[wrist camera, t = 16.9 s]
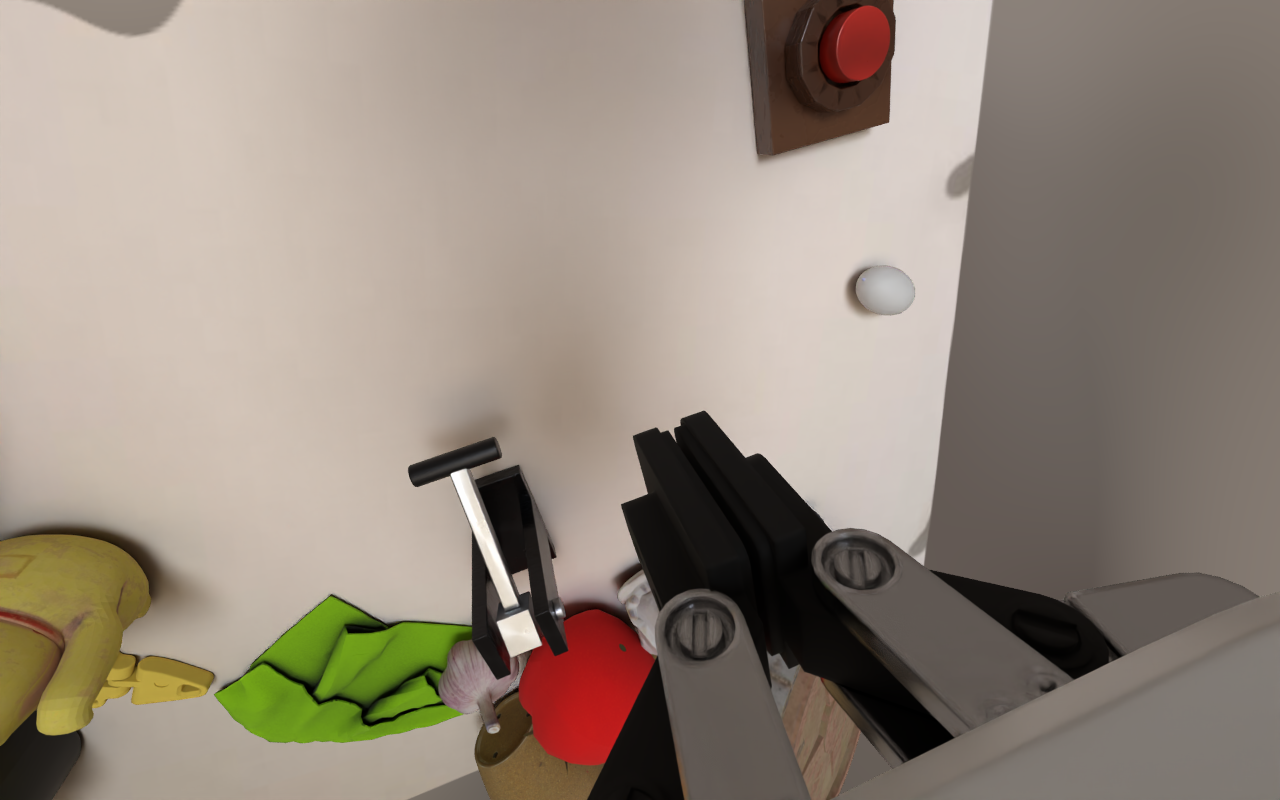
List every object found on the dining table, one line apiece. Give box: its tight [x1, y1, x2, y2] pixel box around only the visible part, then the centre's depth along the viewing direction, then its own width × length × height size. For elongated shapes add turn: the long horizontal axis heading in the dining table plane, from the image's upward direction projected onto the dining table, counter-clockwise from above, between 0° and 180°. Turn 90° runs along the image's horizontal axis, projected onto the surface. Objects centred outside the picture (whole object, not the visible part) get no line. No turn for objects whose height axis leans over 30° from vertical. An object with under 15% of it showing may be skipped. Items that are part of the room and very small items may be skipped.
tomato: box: [519, 609, 655, 775], centre depth 47 cm, size 12×13×12 cm
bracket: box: [472, 465, 568, 680], centre depth 38 cm, size 10×6×13 cm, turn 13°
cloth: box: [214, 596, 472, 743], centre depth 46 cm, size 20×22×2 cm
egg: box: [856, 266, 915, 315], centre depth 42 cm, size 4×6×4 cm, turn 66°
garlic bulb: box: [438, 639, 519, 734], centre depth 45 cm, size 8×7×8 cm
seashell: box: [618, 570, 660, 655], centre depth 48 cm, size 12×14×10 cm
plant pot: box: [475, 692, 605, 800], centre depth 52 cm, size 15×15×16 cm
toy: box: [92, 651, 214, 708], centre depth 38 cm, size 15×1×5 cm
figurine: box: [0, 535, 151, 746], centre depth 29 cm, size 11×9×15 cm
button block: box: [744, 0, 896, 155], centre depth 32 cm, size 10×9×4 cm
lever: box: [408, 437, 542, 658], centre depth 33 cm, size 14×6×2 cm, turn 13°
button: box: [819, 5, 890, 83], centre depth 30 cm, size 4×4×2 cm
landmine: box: [767, 651, 861, 800], centre depth 50 cm, size 24×24×10 cm
